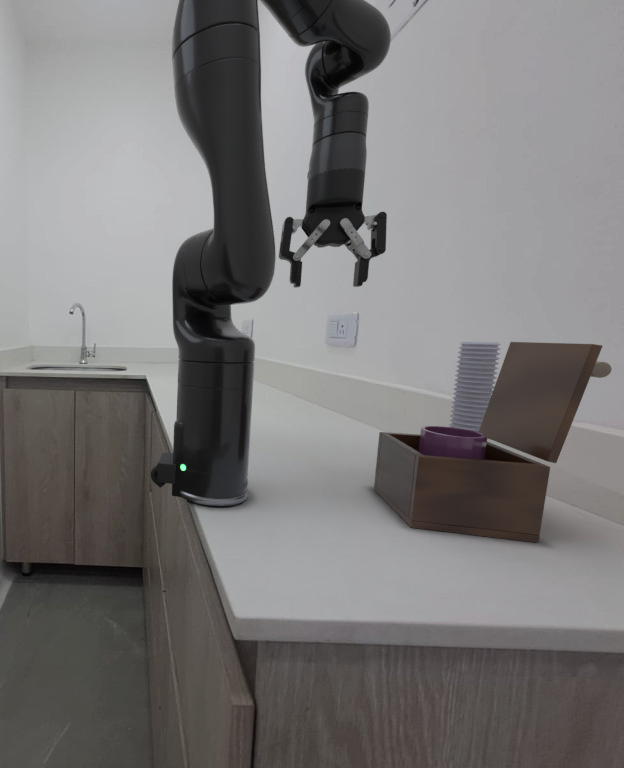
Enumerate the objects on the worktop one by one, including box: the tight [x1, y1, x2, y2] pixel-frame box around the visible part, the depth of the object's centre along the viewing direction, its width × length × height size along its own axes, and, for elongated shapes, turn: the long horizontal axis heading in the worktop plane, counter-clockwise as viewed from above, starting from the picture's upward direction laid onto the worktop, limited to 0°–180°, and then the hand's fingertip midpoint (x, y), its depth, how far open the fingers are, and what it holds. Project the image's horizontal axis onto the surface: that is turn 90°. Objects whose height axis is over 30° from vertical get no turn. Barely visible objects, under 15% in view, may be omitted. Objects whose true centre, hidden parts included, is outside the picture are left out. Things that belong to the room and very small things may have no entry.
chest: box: [373, 431, 551, 543], centre depth 47 cm, size 11×11×8 cm
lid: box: [479, 341, 612, 464], centre depth 43 cm, size 12×11×4 cm
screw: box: [448, 341, 502, 441], centre depth 55 cm, size 8×8×20 cm
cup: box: [418, 425, 488, 460], centre depth 47 cm, size 6×6×9 cm
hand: (326, 286), depth 62 cm, fingers open, 8 cm apart
